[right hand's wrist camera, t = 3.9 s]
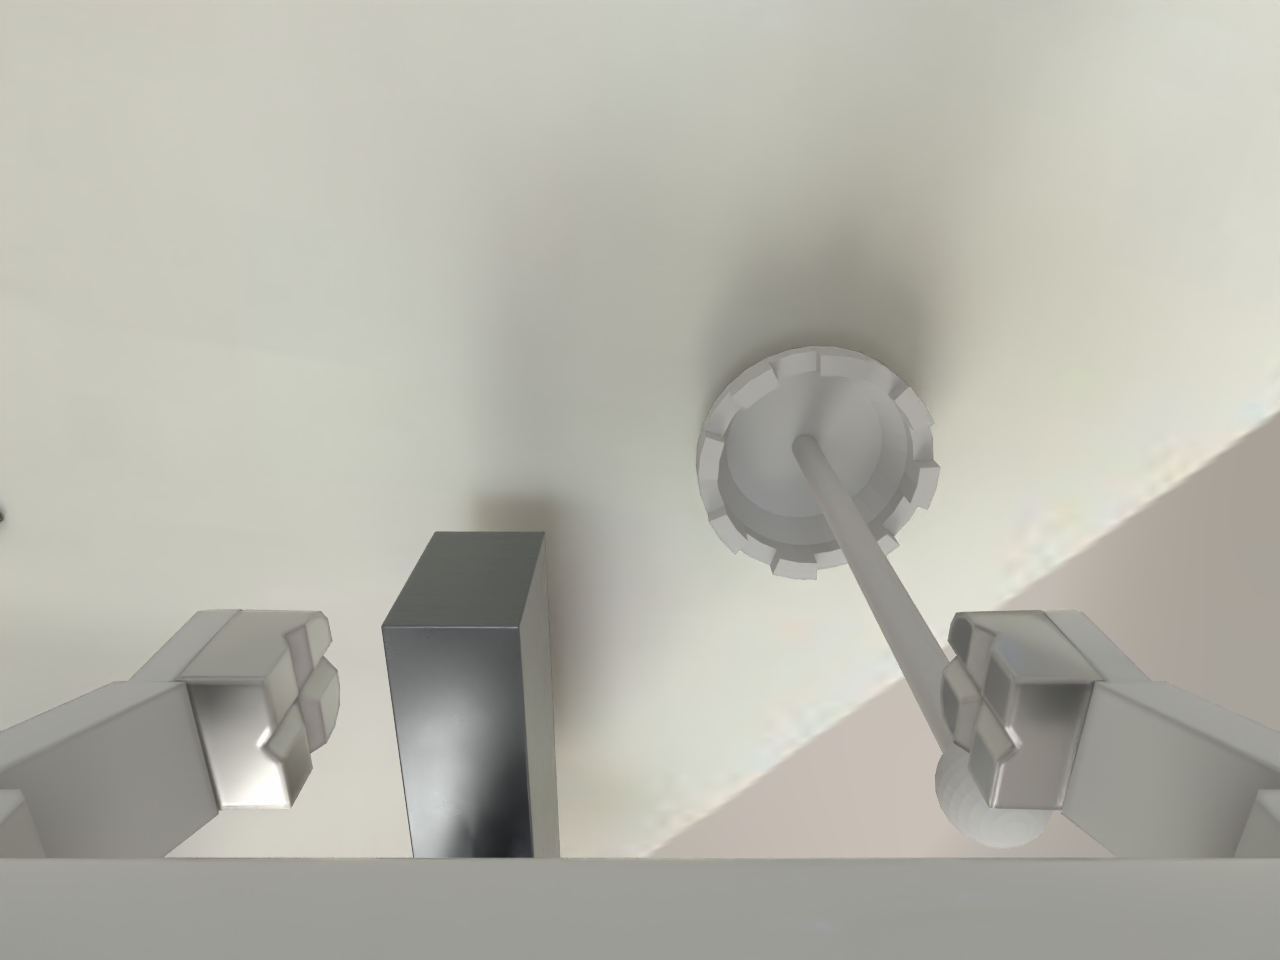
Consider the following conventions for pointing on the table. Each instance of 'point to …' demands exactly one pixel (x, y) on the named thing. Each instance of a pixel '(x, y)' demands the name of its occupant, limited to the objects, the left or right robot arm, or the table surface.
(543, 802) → the box
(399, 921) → the right robot arm
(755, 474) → the flag stand
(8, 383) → the table surface
